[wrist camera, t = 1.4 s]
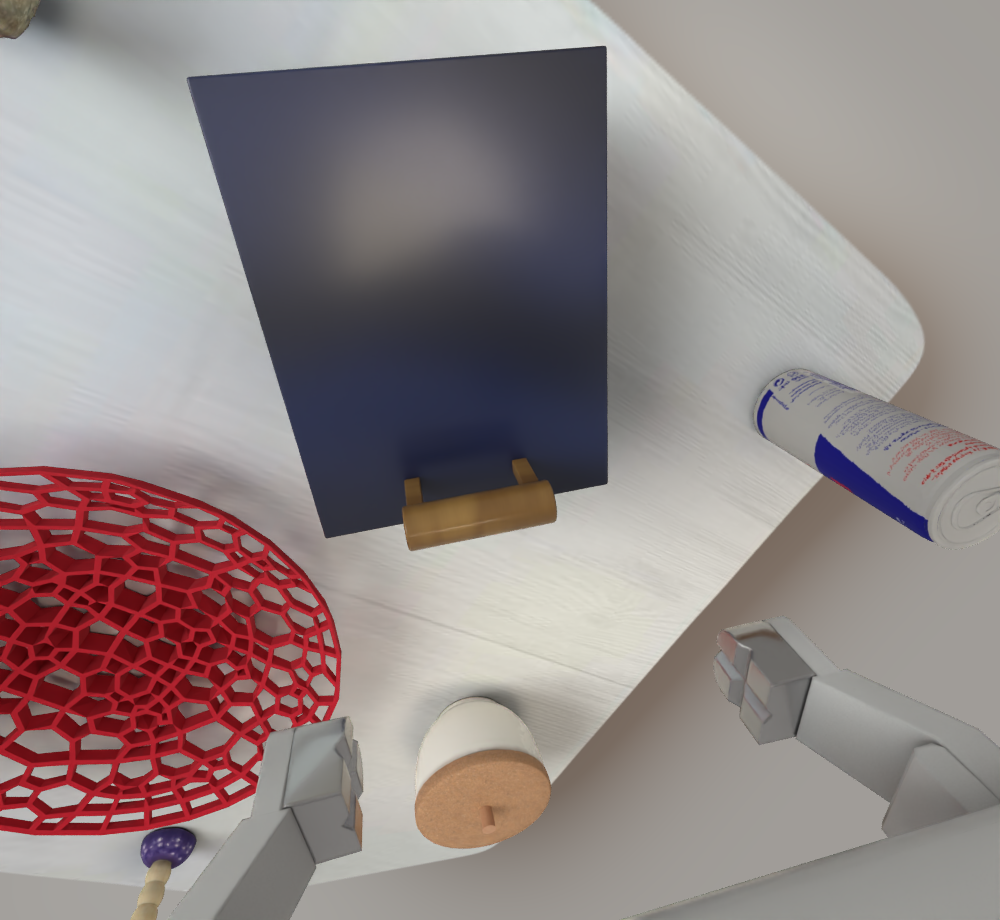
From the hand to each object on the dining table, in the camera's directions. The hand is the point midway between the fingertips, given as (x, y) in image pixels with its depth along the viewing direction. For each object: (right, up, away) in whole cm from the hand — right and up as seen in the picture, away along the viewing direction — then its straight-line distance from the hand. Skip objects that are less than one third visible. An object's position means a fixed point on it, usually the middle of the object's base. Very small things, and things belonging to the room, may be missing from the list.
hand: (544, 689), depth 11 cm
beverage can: (+20, +9, +28) cm, 36 cm away
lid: (-3, +11, +11) cm, 15 cm away
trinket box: (-4, -18, +37) cm, 41 cm away
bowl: (-27, -6, +25) cm, 38 cm away
